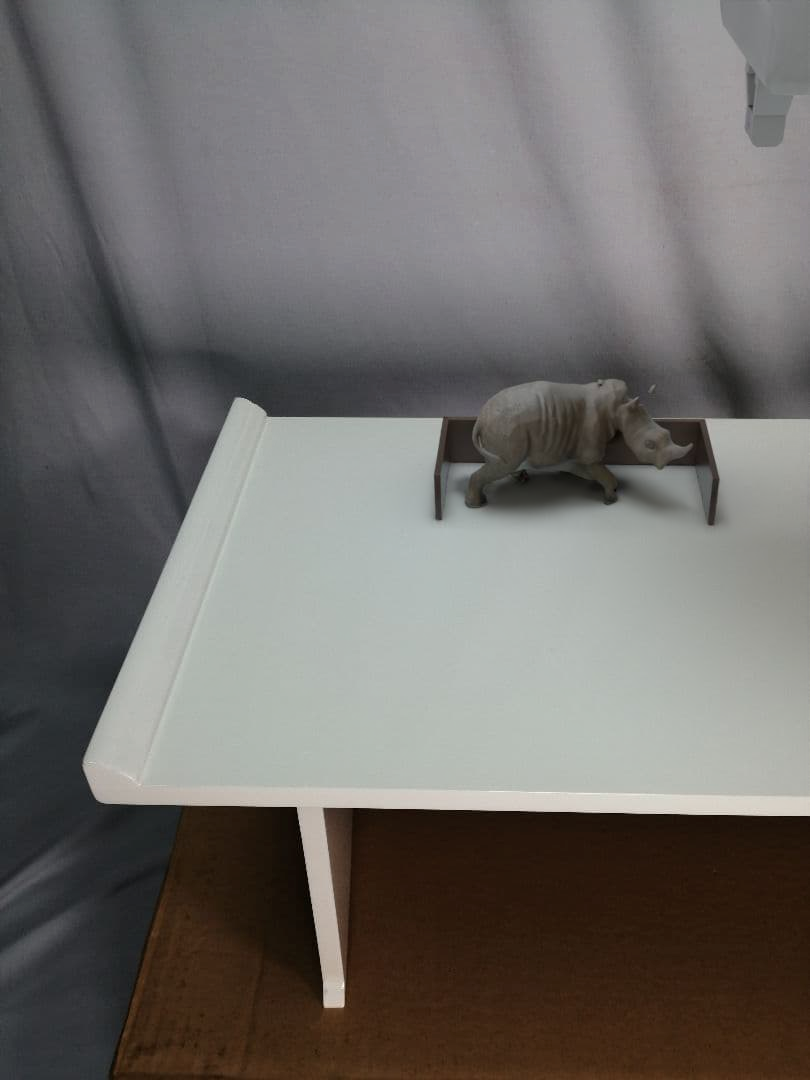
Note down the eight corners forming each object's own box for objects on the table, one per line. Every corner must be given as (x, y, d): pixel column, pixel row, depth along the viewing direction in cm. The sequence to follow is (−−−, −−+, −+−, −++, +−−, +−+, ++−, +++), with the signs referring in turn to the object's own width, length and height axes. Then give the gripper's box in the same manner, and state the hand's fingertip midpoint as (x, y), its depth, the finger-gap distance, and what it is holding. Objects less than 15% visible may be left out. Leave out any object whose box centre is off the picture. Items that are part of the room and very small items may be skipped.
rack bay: (700, 462, 96) (705, 418, 94) (714, 524, 88) (719, 478, 86) (444, 458, 98) (443, 416, 96) (435, 519, 90) (433, 474, 88)
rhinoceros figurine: (435, 433, 97) (546, 298, 88) (567, 513, 100) (686, 391, 92) (428, 489, 91) (546, 350, 82) (569, 571, 94) (696, 447, 86)
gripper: (908, -114, 53) (856, 193, 60) (820, -144, 70) (788, 99, 77) (764, -109, 53) (730, 194, 61) (711, -139, 70) (690, 100, 78)
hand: (762, 140), depth 69 cm, fingers closed
